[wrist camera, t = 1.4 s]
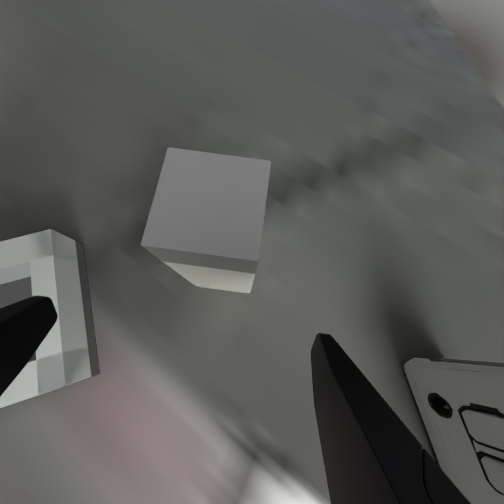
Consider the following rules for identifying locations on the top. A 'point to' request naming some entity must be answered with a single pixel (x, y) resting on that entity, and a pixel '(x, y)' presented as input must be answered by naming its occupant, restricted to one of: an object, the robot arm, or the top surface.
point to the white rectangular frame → (65, 302)
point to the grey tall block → (209, 217)
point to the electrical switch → (464, 422)
